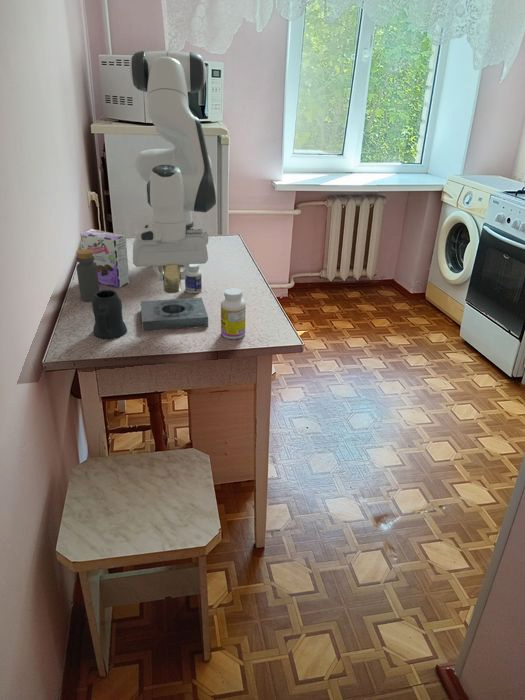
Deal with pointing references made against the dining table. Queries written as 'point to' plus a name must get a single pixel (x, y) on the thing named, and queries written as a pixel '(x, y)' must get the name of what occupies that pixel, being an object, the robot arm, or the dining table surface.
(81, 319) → the dining table surface
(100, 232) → the candy box
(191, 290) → the pill bottle
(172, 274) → the gold rounded cylinder
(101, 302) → the dark grey flared cylinder
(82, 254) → the bottle
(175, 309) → the jig
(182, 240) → the robot arm
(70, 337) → the dining table surface
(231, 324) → the supplement bottle
